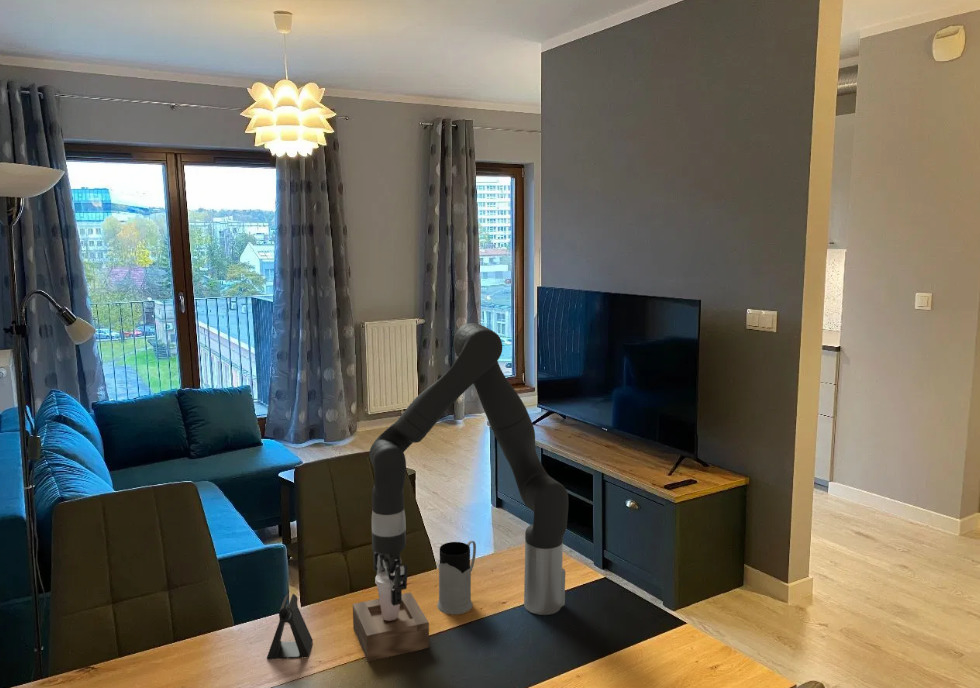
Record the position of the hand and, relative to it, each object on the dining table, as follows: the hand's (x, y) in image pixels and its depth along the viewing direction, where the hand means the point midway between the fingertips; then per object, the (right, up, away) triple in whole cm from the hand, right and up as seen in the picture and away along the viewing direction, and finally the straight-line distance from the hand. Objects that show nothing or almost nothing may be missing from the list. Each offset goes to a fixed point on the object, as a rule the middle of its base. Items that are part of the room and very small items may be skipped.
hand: (390, 597), depth 166 cm
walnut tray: (0, -10, +2) cm, 10 cm away
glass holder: (+15, -7, +18) cm, 25 cm away
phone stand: (-22, -11, -3) cm, 25 cm away
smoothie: (0, -5, +1) cm, 5 cm away
